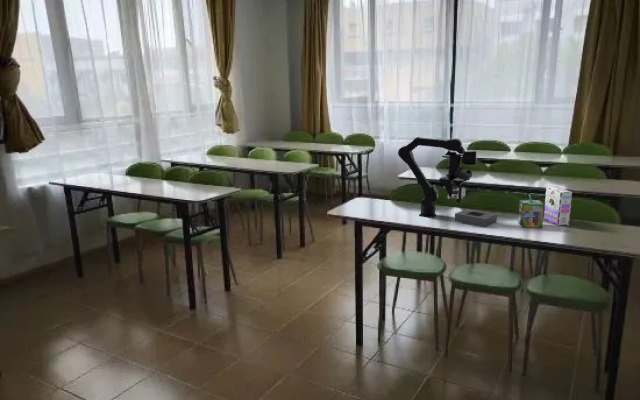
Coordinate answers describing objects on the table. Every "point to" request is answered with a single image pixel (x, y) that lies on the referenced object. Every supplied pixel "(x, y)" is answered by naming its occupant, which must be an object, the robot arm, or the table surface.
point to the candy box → (557, 206)
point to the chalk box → (530, 213)
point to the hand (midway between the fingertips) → (453, 195)
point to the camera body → (476, 218)
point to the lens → (454, 193)
